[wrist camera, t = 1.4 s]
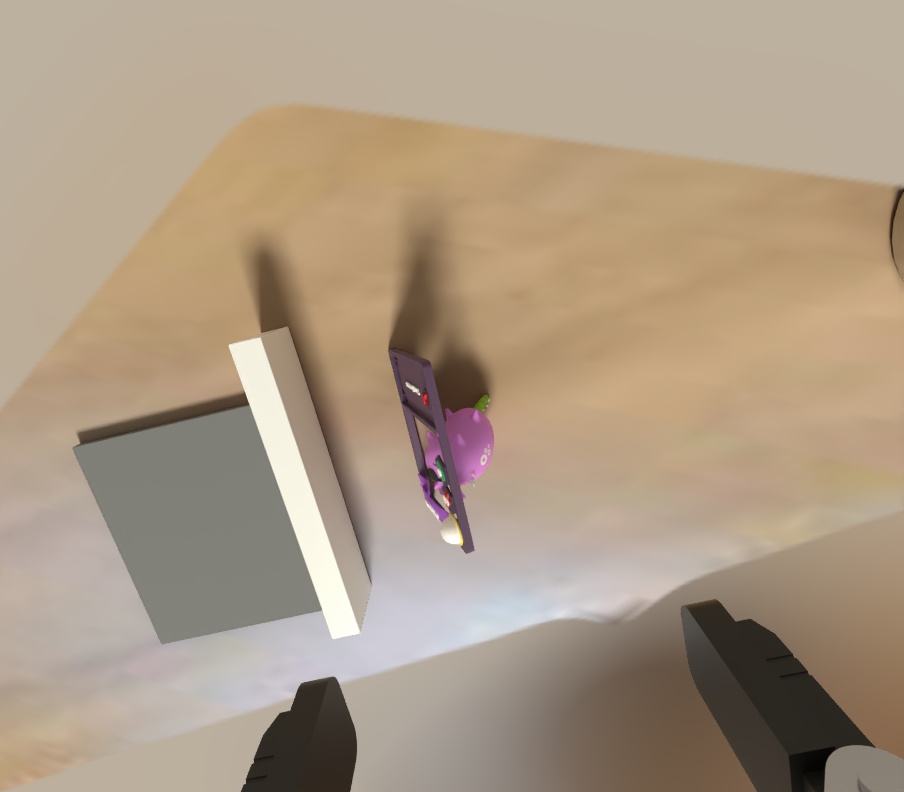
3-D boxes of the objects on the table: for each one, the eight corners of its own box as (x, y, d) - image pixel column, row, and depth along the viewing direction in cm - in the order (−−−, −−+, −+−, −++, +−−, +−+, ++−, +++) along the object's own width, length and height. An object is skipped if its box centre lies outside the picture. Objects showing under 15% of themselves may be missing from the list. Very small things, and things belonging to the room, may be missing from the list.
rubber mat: (268, 398, 28) (264, 401, 27) (338, 601, 31) (335, 607, 30) (79, 444, 28) (71, 447, 28) (167, 637, 31) (161, 644, 31)
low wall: (288, 326, 27) (260, 337, 23) (371, 586, 30) (360, 633, 27) (260, 333, 27) (228, 344, 23) (347, 591, 31) (332, 638, 27)
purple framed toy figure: (404, 368, 20) (452, 562, 23) (519, 336, 22) (554, 521, 24) (374, 353, 27) (414, 505, 29) (464, 328, 28) (496, 476, 30)
